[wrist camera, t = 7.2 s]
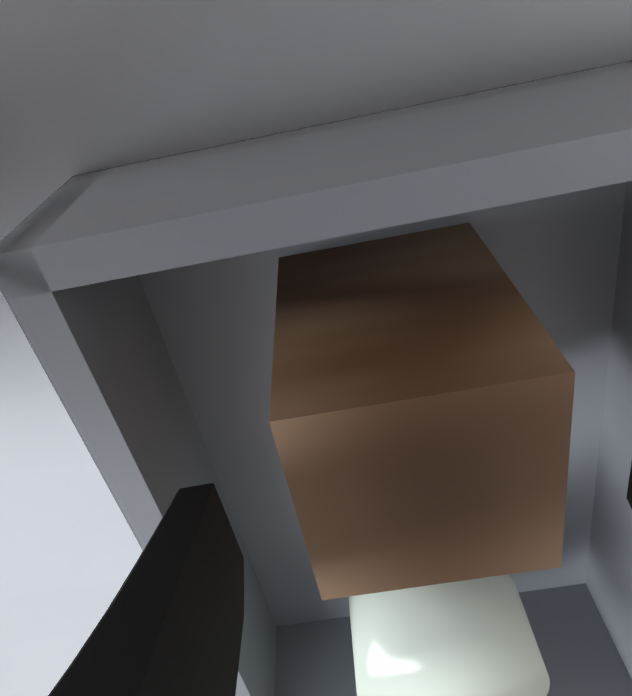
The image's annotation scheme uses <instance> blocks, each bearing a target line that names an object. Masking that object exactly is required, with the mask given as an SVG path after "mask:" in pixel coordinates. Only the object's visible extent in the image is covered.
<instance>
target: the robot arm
mask: <svg viewBox="0 0 632 696" xmlns="http://www.w3.org/2000/svg"><path fill="white" fill-rule="evenodd" d="M626 498H627V500H628V502H629V504H630V507H631V509H632V462H631V469H630V476H629V483H628V489H627V496H626ZM243 621H244V557H243V554H242V552H241V549H240V547H239V544H238V542H237V539H236V537H235V534H234V532H233V529H232V527H231V525H230V522H229V520H228V517H227V515H226V512H225V510H224V507H223V505H222V502H221V500H220V497H219V495H218V492H217V490H216V487H215V485H214V483H209V484H203V485H197V486H191V487H185V488H180V489H179V490H178V491H177V493H176V494H175V496H174V498H173V499H172V501H171V503H170V505H169V506H168V508H167V510H166V512H165V513H164V515H163V517H162V519H161V521H160V522H159V524H158V526H157V528H156V529H155V531H154V533H153V535H152V536H151V538H150V540H149V542H148V543H147V545H146V547H145V548H144V550H143V552H142V554H141V555H140V557H139V559H138V560H137V562H136V564H135V566H134V567H133V569H132V570H131V572H130V574H129V575H128V577H127V579H126V580H125V582H124V583H123V585H122V587H121V588H120V590H119V592H118V593H117V595H116V597H115V598H114V600H113V601H112V603H111V605H110V606H109V608H108V609H107V611H106V613H105V614H104V616H103V617H102V619H101V620H100V622H99V623H98V625H97V626H96V628H95V629H94V631H93V632H92V634H91V635H90V636H89V638H88V639H87V641H86V642H85V644H84V645H83V647H82V648H81V650H80V651H79V653H78V654H77V656H76V657H75V659H74V660H73V662H72V663H71V665H70V666H69V668H68V669H67V670H66V672H65V673H64V675H63V676H62V677H61V679H60V680H59V682H58V683H57V684H56V686H55V687H54V688H53V690H52V691H51V693H50V694H49V695H48V696H235V694H236V685H237V677H238V668H239V659H240V649H241V640H242V631H243Z"/></svg>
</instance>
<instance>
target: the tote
mask: <svg viewBox="0 0 632 696" xmlns="http://www.w3.org/2000/svg"><path fill="white" fill-rule="evenodd" d="M464 223H470V224H471V225H472V227H473V228H474V230H475V231H476V232H477V234H478V235H479V237H480V238H481V239H482V241H483V242H484V244H485V245H486V246H487V248H488V249H489V251H490V252H491V254H492V255H493V256H494V258H495V259H496V261H497V262H498V263H499V265H500V266H501V268H502V269H503V270H504V272H505V273H506V275H507V276H508V278H509V279H510V280H511V282H512V283H513V285H514V286H515V287H516V289H517V290H518V292H519V293H520V294H521V296H522V297H523V299H524V300H525V302H526V303H527V304H528V306H529V307H530V309H531V310H532V311H533V313H534V314H535V316H536V317H537V318H538V320H539V321H540V323H541V324H542V326H543V327H544V328H545V330H546V331H547V333H548V334H549V335H550V337H551V338H552V340H553V341H554V342H555V344H556V345H557V347H558V348H559V350H560V351H561V352H562V354H563V355H564V357H565V358H566V359H567V361H568V362H569V364H570V365H571V366H572V368H573V369H574V371H575V385H574V399H573V412H572V426H571V439H570V453H569V466H568V480H567V493H566V507H565V521H564V534H563V548H562V561H561V567H558V568H551V569H544V570H536V571H529V572H522V573H515V574H512V576H513V579H514V582H515V584H516V587H517V590H518V593H519V595H520V598H521V601H522V604H523V606H524V609H525V612H526V615H527V617H528V620H529V623H530V626H531V629H532V631H533V634H534V637H535V640H536V642H537V645H538V648H539V651H540V653H541V656H542V659H543V662H544V664H545V667H546V670H547V673H548V675H549V679H550V687H549V692H548V694H547V696H632V509H631V507H630V504H629V502H628V500H627V498H626V496H627V489H628V483H629V476H630V469H631V462H632V61H628V62H623V63H618V64H613V65H608V66H603V67H599V68H594V69H589V70H584V71H579V72H574V73H569V74H565V75H560V76H555V77H550V78H545V79H540V80H536V81H531V82H526V83H521V84H516V85H511V86H507V87H502V88H497V89H492V90H487V91H482V92H478V93H473V94H468V95H463V96H458V97H453V98H449V99H444V100H439V101H434V102H429V103H424V104H419V105H415V106H410V107H405V108H400V109H395V110H390V111H386V112H381V113H376V114H371V115H366V116H361V117H357V118H352V119H347V120H342V121H337V122H332V123H328V124H323V125H318V126H313V127H308V128H303V129H298V130H294V131H289V132H284V133H279V134H274V135H269V136H265V137H260V138H255V139H250V140H245V141H240V142H236V143H231V144H226V145H221V146H216V147H211V148H207V149H202V150H197V151H192V152H187V153H182V154H178V155H173V156H168V157H163V158H158V159H153V160H148V161H144V162H139V163H134V164H129V165H124V166H119V167H115V168H110V169H105V170H100V171H95V172H90V173H86V174H81V175H76V176H72V177H71V178H70V179H69V180H68V181H67V182H66V183H65V184H64V185H63V186H61V187H60V188H59V189H58V190H57V191H56V192H55V193H54V194H53V195H51V196H50V197H49V198H48V199H47V200H46V201H45V202H44V203H43V204H41V205H40V206H39V207H38V208H37V209H36V210H35V211H34V212H33V213H31V214H30V215H29V216H28V217H27V218H26V219H25V220H24V221H23V222H21V223H20V224H19V225H18V226H17V227H16V228H15V229H14V230H13V231H11V232H10V233H9V234H8V235H7V236H6V237H5V238H4V239H3V240H1V241H0V290H1V292H2V293H3V295H4V297H5V299H6V301H7V303H8V304H9V306H10V308H11V310H12V312H13V314H14V315H15V317H16V319H17V321H18V323H19V325H20V326H21V328H22V330H23V332H24V334H25V336H26V337H27V339H28V341H29V343H30V345H31V347H32V348H33V350H34V352H35V354H36V356H37V358H38V359H39V361H40V363H41V365H42V367H43V369H44V370H45V372H46V374H47V376H48V378H49V380H50V381H51V383H52V385H53V387H54V389H55V391H56V392H57V394H58V396H59V398H60V400H61V402H62V403H63V405H64V407H65V409H66V411H67V413H68V414H69V416H70V418H71V420H72V422H73V424H74V425H75V427H76V429H77V431H78V433H79V435H80V436H81V438H82V440H83V442H84V444H85V446H86V447H87V449H88V451H89V453H90V455H91V457H92V458H93V460H94V462H95V464H96V466H97V468H98V469H99V471H100V473H101V475H102V477H103V479H104V480H105V482H106V484H107V486H108V488H109V490H110V491H111V493H112V495H113V497H114V499H115V501H116V502H117V504H118V506H119V508H120V510H121V512H122V513H123V515H124V517H125V519H126V521H127V523H128V524H129V526H130V528H131V530H132V532H133V534H134V535H135V537H136V539H137V541H138V543H139V545H140V546H141V548H142V550H144V548H145V547H146V545H147V543H148V542H149V540H150V538H151V536H152V535H153V533H154V531H155V529H156V528H157V526H158V524H159V522H160V521H161V519H162V517H163V515H164V513H165V512H166V510H167V508H168V506H169V505H170V503H171V501H172V499H173V498H174V496H175V494H176V493H177V491H178V490H179V489H180V488H185V487H191V486H197V485H203V484H209V483H214V485H215V487H216V490H217V492H218V495H219V497H220V500H221V502H222V505H223V507H224V510H225V512H226V515H227V517H228V520H229V522H230V525H231V527H232V529H233V532H234V534H235V537H236V539H237V542H238V544H239V547H240V549H241V552H242V554H243V557H244V621H243V631H242V640H241V649H240V659H239V668H238V677H237V685H236V694H235V696H357V691H356V679H355V668H354V656H353V645H352V633H351V621H350V610H349V598H348V597H342V598H335V599H328V600H322V599H321V595H320V592H319V588H318V585H317V582H316V578H315V575H314V572H313V568H312V565H311V561H310V558H309V555H308V551H307V548H306V545H305V541H304V538H303V534H302V531H301V528H300V524H299V521H298V518H297V514H296V511H295V507H294V504H293V501H292V497H291V494H290V491H289V487H288V484H287V480H286V477H285V474H284V470H283V467H282V464H281V460H280V457H279V453H278V450H277V447H276V443H275V440H274V437H273V433H272V430H271V426H270V423H269V416H270V399H271V382H272V365H273V347H274V330H275V313H276V296H277V278H278V261H279V257H285V256H290V255H296V254H301V253H306V252H312V251H317V250H323V249H328V248H334V247H339V246H345V245H350V244H356V243H361V242H366V241H372V240H377V239H383V238H388V237H394V236H399V235H405V234H410V233H415V232H421V231H426V230H432V229H437V228H443V227H448V226H454V225H459V224H464Z"/></svg>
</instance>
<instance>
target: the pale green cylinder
mask: <svg viewBox="0 0 632 696" xmlns="http://www.w3.org/2000/svg"><path fill="white" fill-rule="evenodd" d="M348 598H349V610H350V621H351V633H352V645H353V656H354V668H355V679H356V691H357V696H547V694H548V692H549V687H550V679H549V675H548V673H547V670H546V667H545V664H544V662H543V659H542V656H541V653H540V651H539V648H538V645H537V642H536V640H535V637H534V634H533V631H532V629H531V626H530V623H529V620H528V617H527V615H526V612H525V609H524V606H523V604H522V601H521V598H520V595H519V593H518V590H517V587H516V584H515V582H514V579H513V576H512V574H508V575H500V576H493V577H486V578H479V579H472V580H464V581H457V582H450V583H443V584H436V585H428V586H421V587H414V588H407V589H400V590H392V591H385V592H378V593H371V594H364V595H356V596H349V597H348Z"/></svg>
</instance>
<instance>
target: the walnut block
mask: <svg viewBox="0 0 632 696" xmlns="http://www.w3.org/2000/svg"><path fill="white" fill-rule="evenodd" d="M574 385H575V371H574V369H573V368H572V366H571V365H570V364H569V362H568V361H567V359H566V358H565V357H564V355H563V354H562V352H561V351H560V350H559V348H558V347H557V345H556V344H555V342H554V341H553V340H552V338H551V337H550V335H549V334H548V333H547V331H546V330H545V328H544V327H543V326H542V324H541V323H540V321H539V320H538V318H537V317H536V316H535V314H534V313H533V311H532V310H531V309H530V307H529V306H528V304H527V303H526V302H525V300H524V299H523V297H522V296H521V294H520V293H519V292H518V290H517V289H516V287H515V286H514V285H513V283H512V282H511V280H510V279H509V278H508V276H507V275H506V273H505V272H504V270H503V269H502V268H501V266H500V265H499V263H498V262H497V261H496V259H495V258H494V256H493V255H492V254H491V252H490V251H489V249H488V248H487V246H486V245H485V244H484V242H483V241H482V239H481V238H480V237H479V235H478V234H477V232H476V231H475V230H474V228H473V227H472V225H471V224H470V223H464V224H459V225H454V226H448V227H443V228H437V229H432V230H426V231H421V232H415V233H410V234H405V235H399V236H394V237H388V238H383V239H377V240H372V241H366V242H361V243H356V244H350V245H345V246H339V247H334V248H328V249H323V250H317V251H312V252H306V253H301V254H296V255H290V256H285V257H279V261H278V278H277V296H276V313H275V330H274V347H273V365H272V382H271V399H270V416H269V423H270V426H271V430H272V433H273V437H274V440H275V443H276V447H277V450H278V453H279V457H280V460H281V464H282V467H283V470H284V474H285V477H286V480H287V484H288V487H289V491H290V494H291V497H292V501H293V504H294V507H295V511H296V514H297V518H298V521H299V524H300V528H301V531H302V534H303V538H304V541H305V545H306V548H307V551H308V555H309V558H310V561H311V565H312V568H313V572H314V575H315V578H316V582H317V585H318V588H319V592H320V595H321V599H322V600H328V599H335V598H342V597H349V596H356V595H364V594H371V593H378V592H385V591H392V590H400V589H407V588H414V587H421V586H428V585H436V584H443V583H450V582H457V581H464V580H472V579H479V578H486V577H493V576H500V575H508V574H515V573H522V572H529V571H536V570H544V569H551V568H558V567H561V561H562V548H563V534H564V521H565V507H566V493H567V480H568V466H569V453H570V439H571V426H572V412H573V399H574Z"/></svg>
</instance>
